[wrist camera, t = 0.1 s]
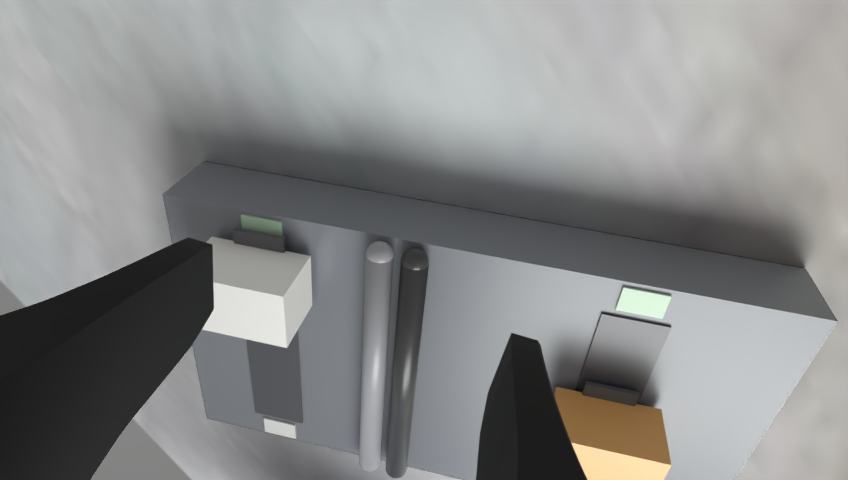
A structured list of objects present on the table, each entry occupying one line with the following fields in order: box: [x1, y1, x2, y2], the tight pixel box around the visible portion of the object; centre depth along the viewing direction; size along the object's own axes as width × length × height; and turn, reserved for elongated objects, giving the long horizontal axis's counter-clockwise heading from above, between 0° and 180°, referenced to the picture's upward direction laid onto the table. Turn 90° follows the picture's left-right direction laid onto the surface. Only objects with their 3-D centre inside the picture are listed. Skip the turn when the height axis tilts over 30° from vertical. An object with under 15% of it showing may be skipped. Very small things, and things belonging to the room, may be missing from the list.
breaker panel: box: [163, 162, 838, 480], centre depth 24 cm, size 13×24×4 cm, turn 85°
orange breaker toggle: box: [554, 381, 671, 480], centre depth 22 cm, size 4×4×3 cm
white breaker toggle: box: [202, 227, 312, 348], centre depth 21 cm, size 4×4×2 cm
